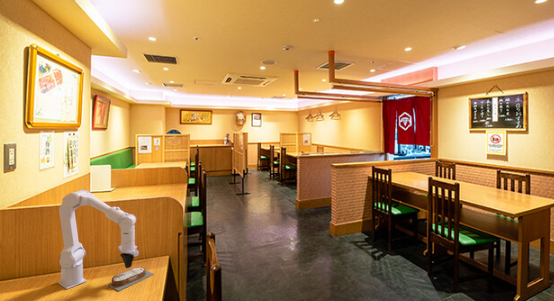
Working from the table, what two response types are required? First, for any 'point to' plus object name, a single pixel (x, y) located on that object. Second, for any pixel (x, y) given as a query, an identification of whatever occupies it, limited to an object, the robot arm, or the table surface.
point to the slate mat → (131, 282)
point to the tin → (128, 276)
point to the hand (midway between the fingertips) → (128, 267)
